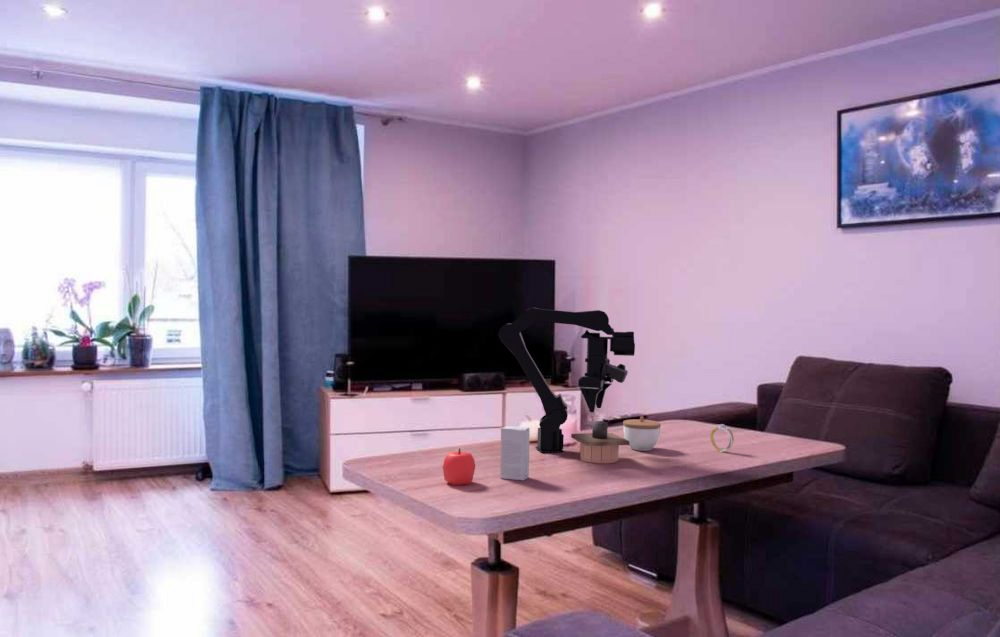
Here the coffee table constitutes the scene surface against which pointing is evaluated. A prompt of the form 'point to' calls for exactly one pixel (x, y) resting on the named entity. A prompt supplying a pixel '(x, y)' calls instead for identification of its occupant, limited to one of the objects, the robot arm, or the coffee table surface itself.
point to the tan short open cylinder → (599, 454)
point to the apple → (459, 468)
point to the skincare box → (514, 453)
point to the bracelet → (723, 427)
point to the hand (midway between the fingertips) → (595, 410)
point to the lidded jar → (641, 433)
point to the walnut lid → (599, 436)
